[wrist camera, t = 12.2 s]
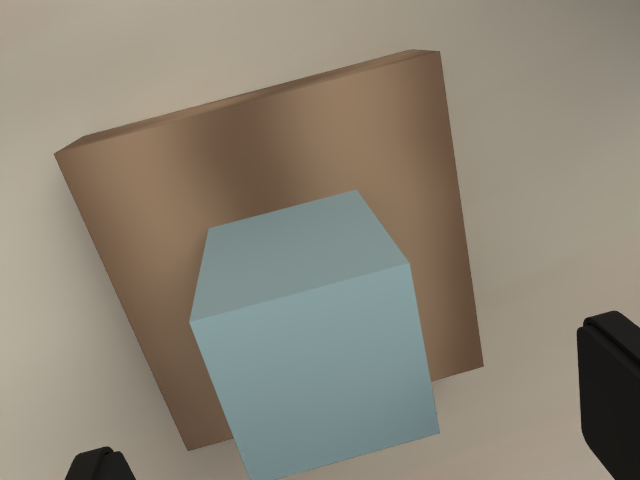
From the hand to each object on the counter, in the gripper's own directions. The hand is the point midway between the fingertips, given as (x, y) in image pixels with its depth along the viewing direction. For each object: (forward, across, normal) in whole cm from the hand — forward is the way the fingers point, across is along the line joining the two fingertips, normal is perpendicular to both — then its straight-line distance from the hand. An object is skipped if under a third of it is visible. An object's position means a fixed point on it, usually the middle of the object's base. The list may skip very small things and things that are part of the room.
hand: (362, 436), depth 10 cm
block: (+8, +1, 0) cm, 8 cm away
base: (+11, +1, 0) cm, 11 cm away
